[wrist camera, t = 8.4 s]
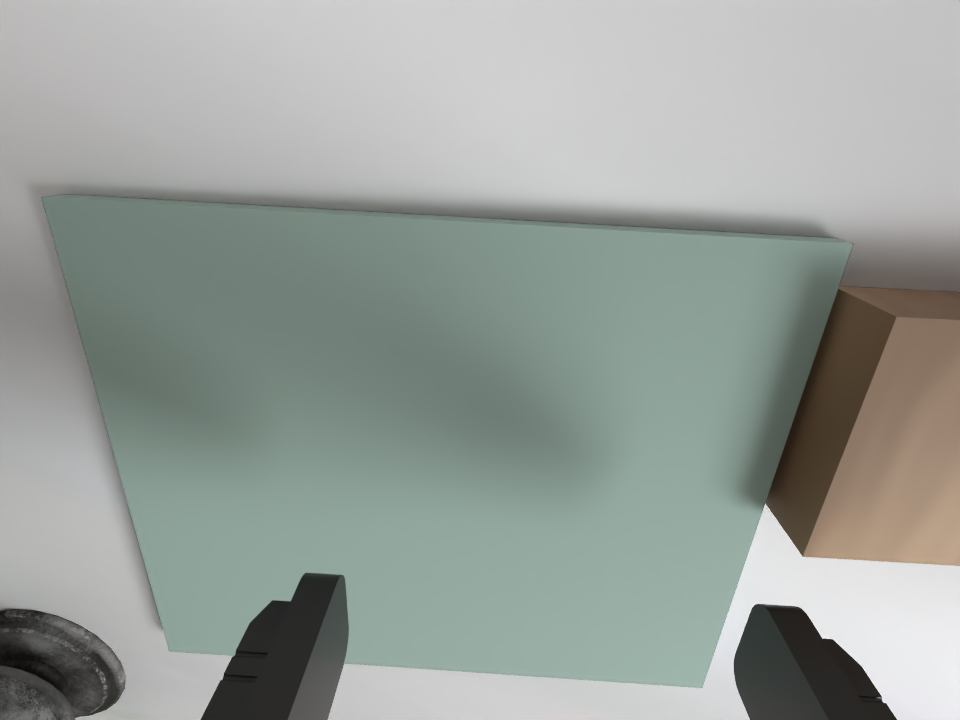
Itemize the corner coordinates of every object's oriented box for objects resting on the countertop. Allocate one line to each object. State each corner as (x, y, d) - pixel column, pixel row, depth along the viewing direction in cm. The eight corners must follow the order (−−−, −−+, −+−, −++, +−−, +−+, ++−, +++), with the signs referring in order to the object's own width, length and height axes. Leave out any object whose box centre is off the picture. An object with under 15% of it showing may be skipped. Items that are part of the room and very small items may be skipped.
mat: (836, 238, 11) (853, 244, 11) (695, 670, 17) (702, 687, 17) (63, 194, 12) (41, 197, 11) (180, 634, 17) (169, 651, 17)
